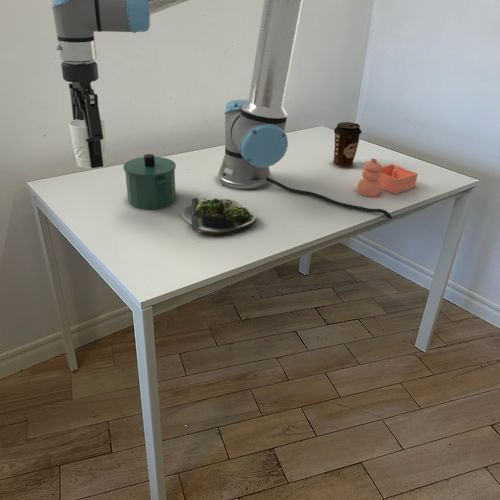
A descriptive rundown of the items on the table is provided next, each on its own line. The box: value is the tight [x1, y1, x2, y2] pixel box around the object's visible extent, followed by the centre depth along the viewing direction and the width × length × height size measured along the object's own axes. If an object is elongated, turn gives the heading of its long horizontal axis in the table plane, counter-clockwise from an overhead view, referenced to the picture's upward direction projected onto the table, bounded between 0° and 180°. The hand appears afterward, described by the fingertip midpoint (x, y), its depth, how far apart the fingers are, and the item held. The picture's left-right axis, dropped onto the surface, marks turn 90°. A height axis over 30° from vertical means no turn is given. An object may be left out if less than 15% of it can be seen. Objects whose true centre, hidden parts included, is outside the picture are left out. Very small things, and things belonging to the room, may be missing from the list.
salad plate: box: [181, 197, 257, 238], centre depth 124 cm, size 19×18×5 cm
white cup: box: [68, 119, 107, 170], centre depth 118 cm, size 8×8×10 cm
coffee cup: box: [332, 121, 362, 169], centre depth 158 cm, size 9×8×13 cm
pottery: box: [357, 158, 419, 198], centre depth 143 cm, size 18×10×10 cm, turn 126°
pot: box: [124, 170, 177, 210], centre depth 132 cm, size 12×18×9 cm
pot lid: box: [123, 153, 177, 177], centre depth 129 cm, size 13×13×4 cm
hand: (91, 161), depth 120 cm, fingers closed on white cup, 8 cm apart
